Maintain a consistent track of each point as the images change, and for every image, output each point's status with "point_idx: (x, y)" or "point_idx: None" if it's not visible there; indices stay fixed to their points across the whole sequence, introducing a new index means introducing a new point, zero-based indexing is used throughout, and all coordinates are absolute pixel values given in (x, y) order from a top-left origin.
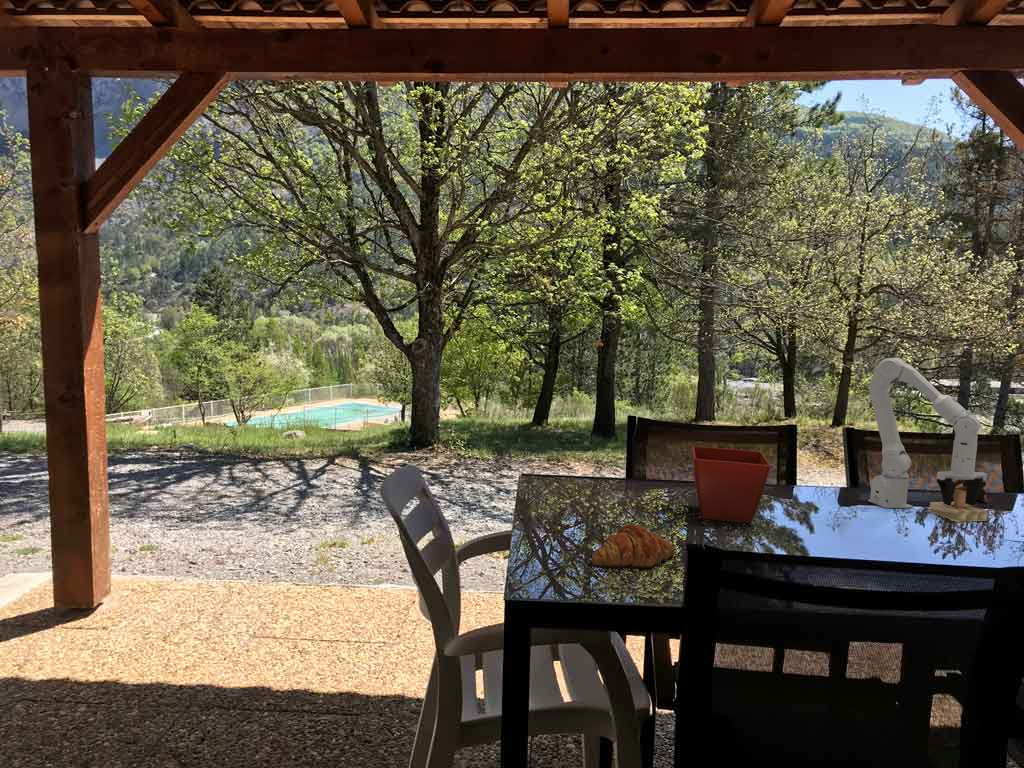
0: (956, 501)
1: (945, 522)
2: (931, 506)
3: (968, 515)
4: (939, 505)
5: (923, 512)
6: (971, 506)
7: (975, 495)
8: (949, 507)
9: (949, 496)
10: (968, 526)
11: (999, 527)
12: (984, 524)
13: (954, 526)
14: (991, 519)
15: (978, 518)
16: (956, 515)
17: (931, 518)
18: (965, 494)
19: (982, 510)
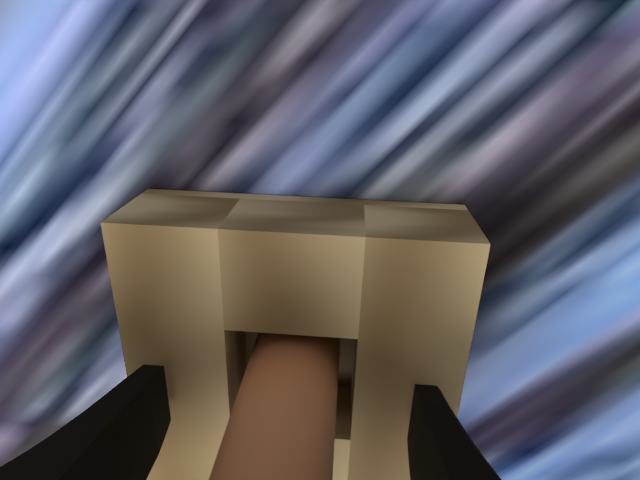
0: (332, 418)
1: (577, 202)
2: None
3: (335, 217)
4: None
5: (479, 443)
6: None
7: (99, 433)
8: (421, 371)
9: (483, 457)
10: (469, 61)
11: (155, 4)
12: (234, 114)
13: (628, 71)
14: (51, 246)
15: (223, 203)
16: (476, 225)
17: (582, 315)
18: (238, 461)
19: (139, 253)
